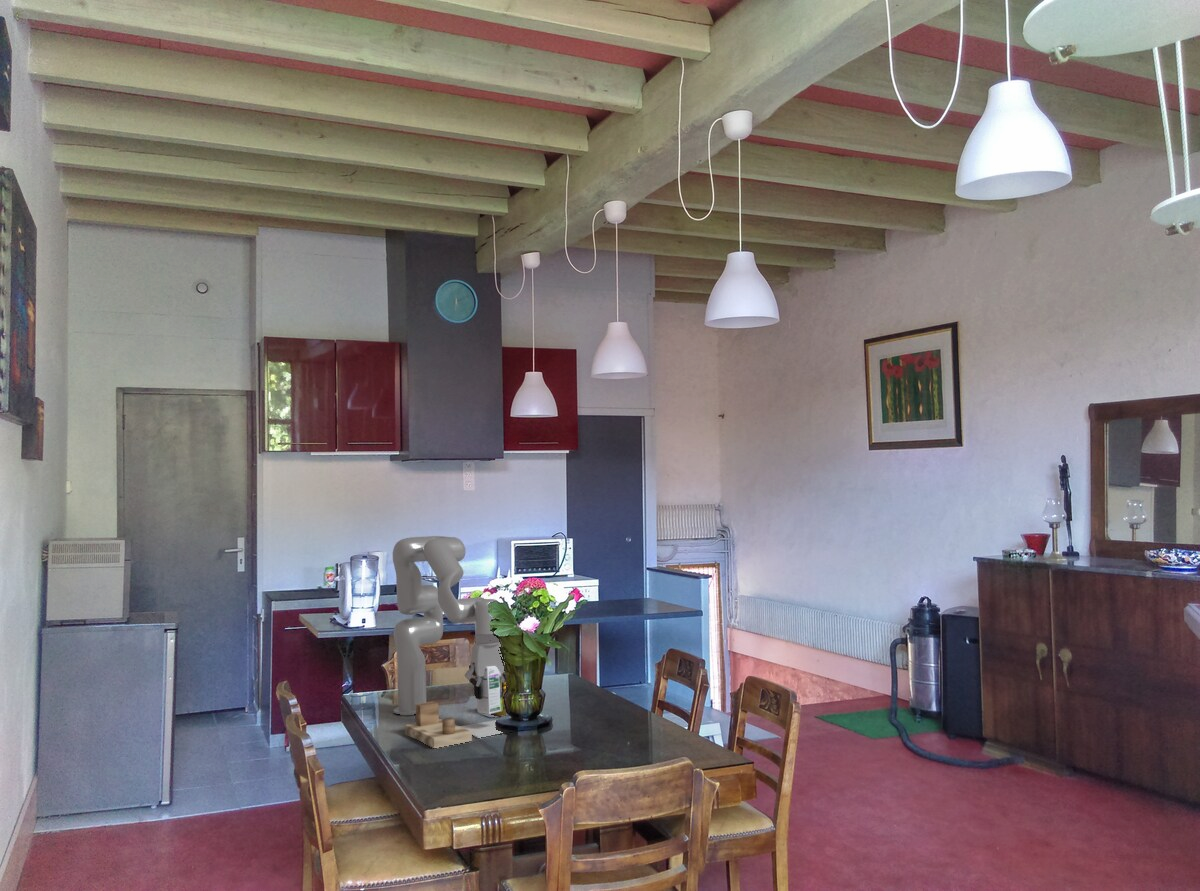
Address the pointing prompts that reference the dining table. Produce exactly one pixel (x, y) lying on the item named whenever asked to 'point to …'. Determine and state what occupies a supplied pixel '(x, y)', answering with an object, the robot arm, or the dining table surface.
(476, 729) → the grey mat
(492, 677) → the syrup box
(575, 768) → the dining table surface
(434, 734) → the wooden frame with peg
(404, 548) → the robot arm
